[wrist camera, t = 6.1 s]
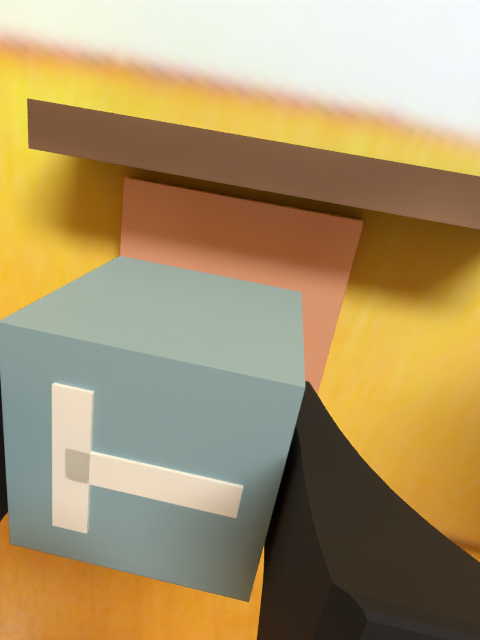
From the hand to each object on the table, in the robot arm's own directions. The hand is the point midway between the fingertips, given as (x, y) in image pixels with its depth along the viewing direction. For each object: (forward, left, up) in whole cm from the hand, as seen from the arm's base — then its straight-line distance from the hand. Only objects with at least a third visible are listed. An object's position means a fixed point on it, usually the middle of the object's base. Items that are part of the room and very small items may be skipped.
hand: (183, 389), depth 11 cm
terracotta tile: (-1, 0, -9) cm, 9 cm away
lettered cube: (0, 0, -2) cm, 2 cm away
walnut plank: (+6, -2, -9) cm, 11 cm away
